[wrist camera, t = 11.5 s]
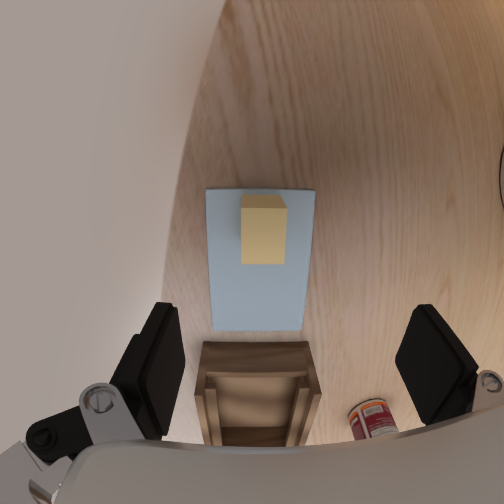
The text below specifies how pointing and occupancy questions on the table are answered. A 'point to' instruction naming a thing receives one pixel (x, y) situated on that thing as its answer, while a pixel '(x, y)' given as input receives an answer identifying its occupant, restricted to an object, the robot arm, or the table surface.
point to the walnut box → (256, 394)
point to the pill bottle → (372, 420)
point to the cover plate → (257, 280)
